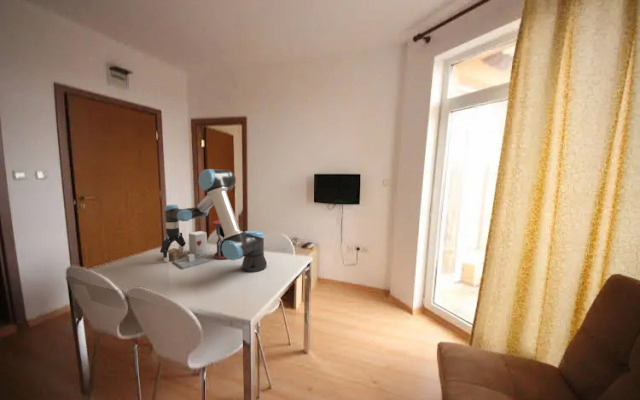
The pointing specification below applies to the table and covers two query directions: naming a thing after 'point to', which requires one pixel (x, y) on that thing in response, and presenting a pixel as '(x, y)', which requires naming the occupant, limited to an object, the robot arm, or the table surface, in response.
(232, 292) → the table surface
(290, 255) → the table surface
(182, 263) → the plate
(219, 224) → the hourglass
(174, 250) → the brown cardboard crate
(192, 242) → the supplement box
